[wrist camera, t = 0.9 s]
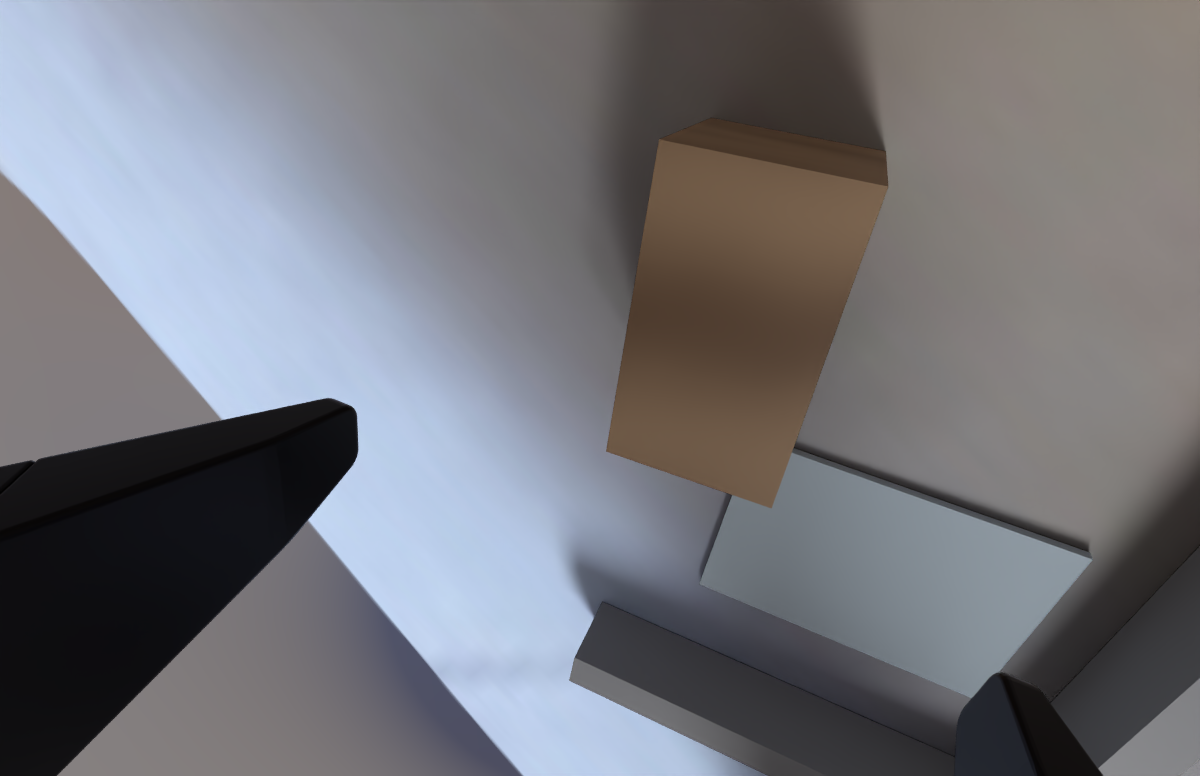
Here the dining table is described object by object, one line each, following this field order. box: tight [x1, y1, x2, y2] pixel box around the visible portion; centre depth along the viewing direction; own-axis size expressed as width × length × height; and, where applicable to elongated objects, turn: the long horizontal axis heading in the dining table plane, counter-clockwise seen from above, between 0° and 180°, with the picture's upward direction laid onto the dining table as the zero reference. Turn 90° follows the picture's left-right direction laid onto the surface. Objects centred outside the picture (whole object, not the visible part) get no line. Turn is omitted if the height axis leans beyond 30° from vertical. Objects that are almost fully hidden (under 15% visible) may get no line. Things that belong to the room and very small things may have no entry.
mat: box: [699, 448, 1093, 698], centre depth 21 cm, size 7×10×1 cm
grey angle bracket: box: [569, 546, 1200, 776], centre depth 19 cm, size 19×17×3 cm
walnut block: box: [606, 118, 888, 509], centre depth 16 cm, size 8×4×5 cm, turn 173°
